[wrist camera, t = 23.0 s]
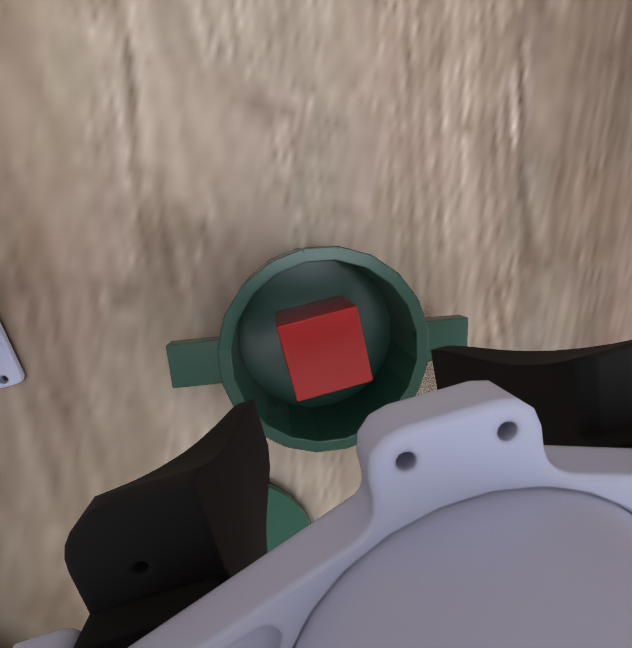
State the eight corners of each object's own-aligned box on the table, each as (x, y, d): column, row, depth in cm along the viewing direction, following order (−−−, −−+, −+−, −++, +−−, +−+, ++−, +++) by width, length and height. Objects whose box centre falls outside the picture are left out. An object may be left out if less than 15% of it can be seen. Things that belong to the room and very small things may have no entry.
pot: (434, 398, 26) (471, 432, 21) (199, 426, 24) (181, 470, 19) (436, 239, 23) (478, 236, 19) (173, 256, 22) (146, 259, 17)
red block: (292, 374, 24) (297, 402, 20) (275, 312, 23) (276, 327, 18) (355, 357, 24) (373, 380, 20) (341, 294, 23) (357, 305, 19)
